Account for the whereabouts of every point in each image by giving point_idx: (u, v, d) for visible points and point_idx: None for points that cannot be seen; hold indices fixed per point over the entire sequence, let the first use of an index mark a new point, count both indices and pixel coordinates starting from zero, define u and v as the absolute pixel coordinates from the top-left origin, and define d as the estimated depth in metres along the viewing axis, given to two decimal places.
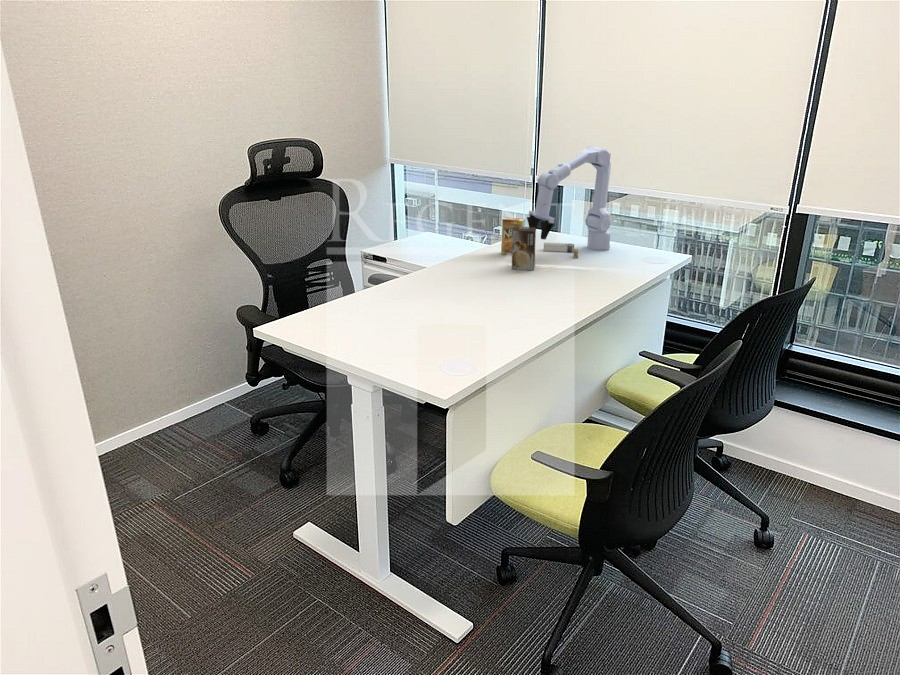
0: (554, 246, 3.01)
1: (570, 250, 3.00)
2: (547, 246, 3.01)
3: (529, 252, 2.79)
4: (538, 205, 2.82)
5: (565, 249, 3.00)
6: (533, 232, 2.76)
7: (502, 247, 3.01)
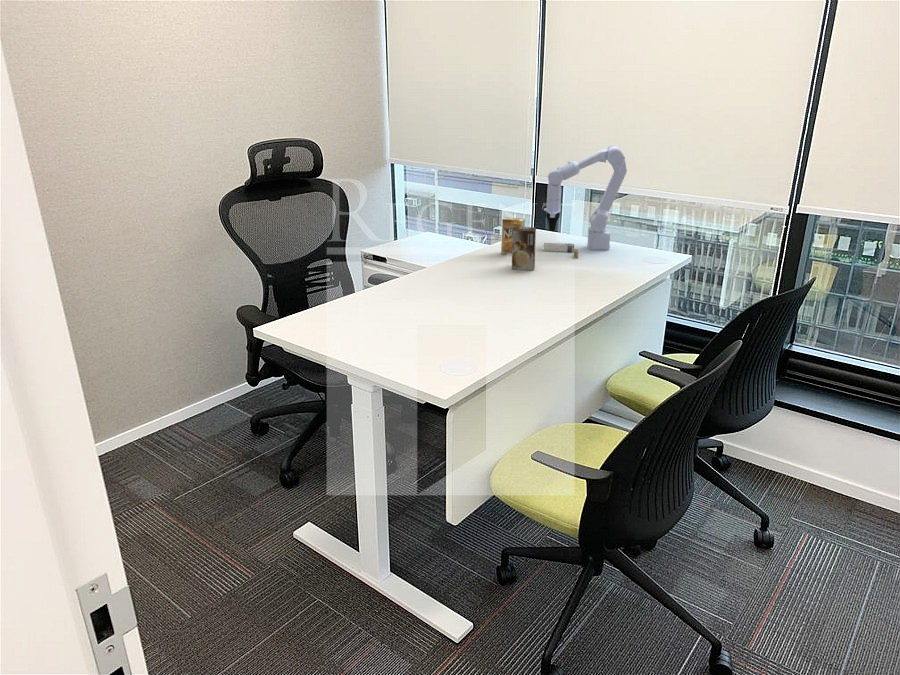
0: (554, 246, 3.01)
1: (570, 250, 3.00)
2: (547, 246, 3.01)
3: (529, 252, 2.79)
4: (547, 200, 3.01)
5: (565, 249, 3.00)
6: (533, 232, 2.76)
7: (502, 247, 3.01)
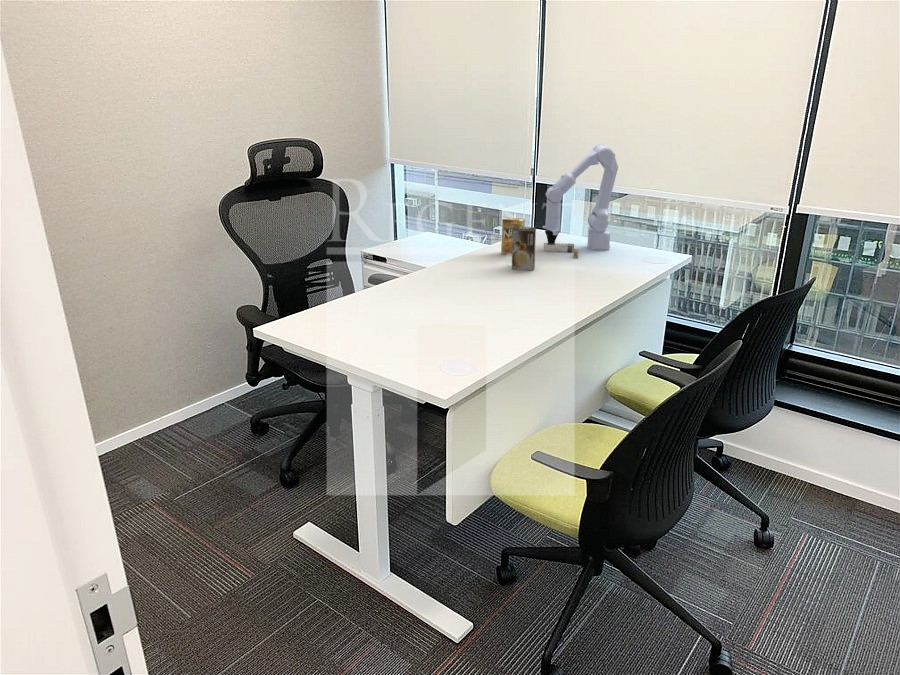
0: (554, 246, 3.01)
1: (570, 250, 3.00)
2: (547, 246, 3.01)
3: (529, 252, 2.79)
4: (546, 218, 2.99)
5: (565, 249, 3.00)
6: (533, 232, 2.76)
7: (502, 247, 3.01)
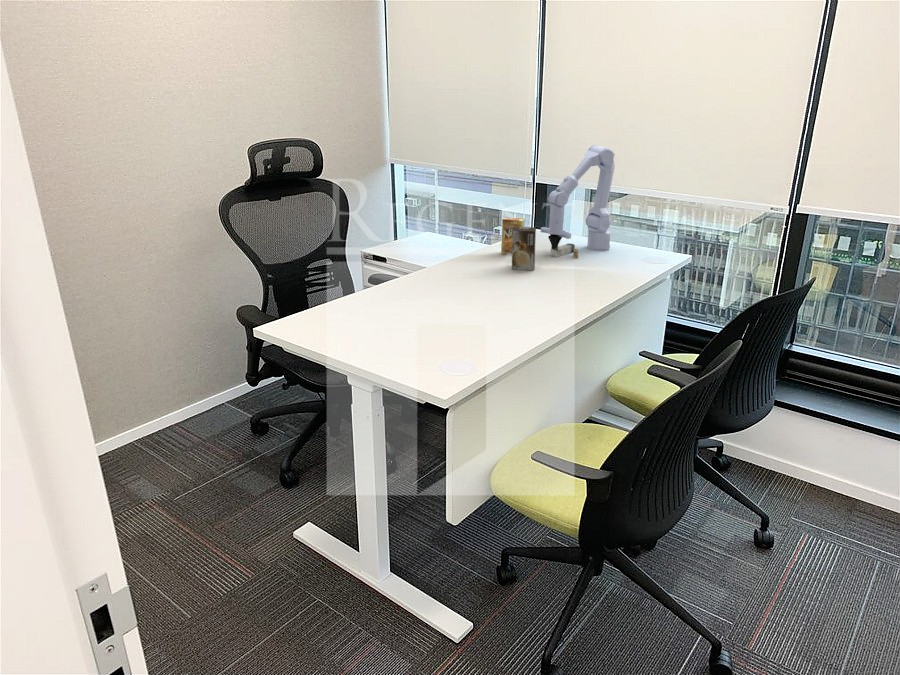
0: (563, 249, 2.96)
1: (573, 249, 3.01)
2: (558, 251, 2.94)
3: (529, 252, 2.79)
4: (552, 223, 2.91)
5: (570, 250, 2.99)
6: (533, 232, 2.76)
7: (502, 247, 3.01)
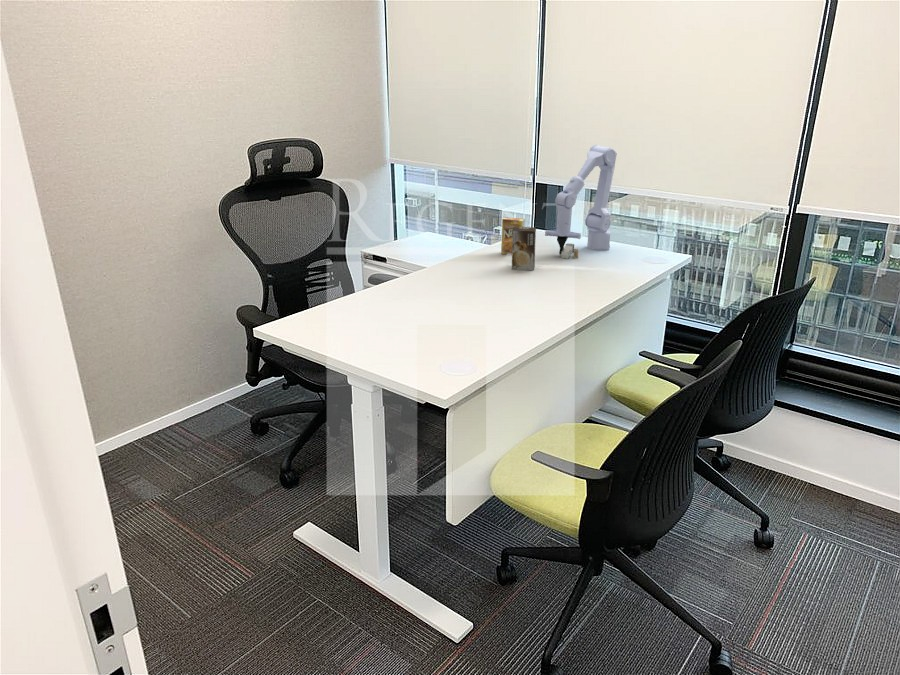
0: (570, 250, 2.95)
1: (573, 249, 3.01)
2: (569, 253, 2.93)
3: (529, 252, 2.79)
4: (563, 225, 2.88)
5: (572, 250, 3.00)
6: (533, 232, 2.76)
7: (502, 247, 3.01)
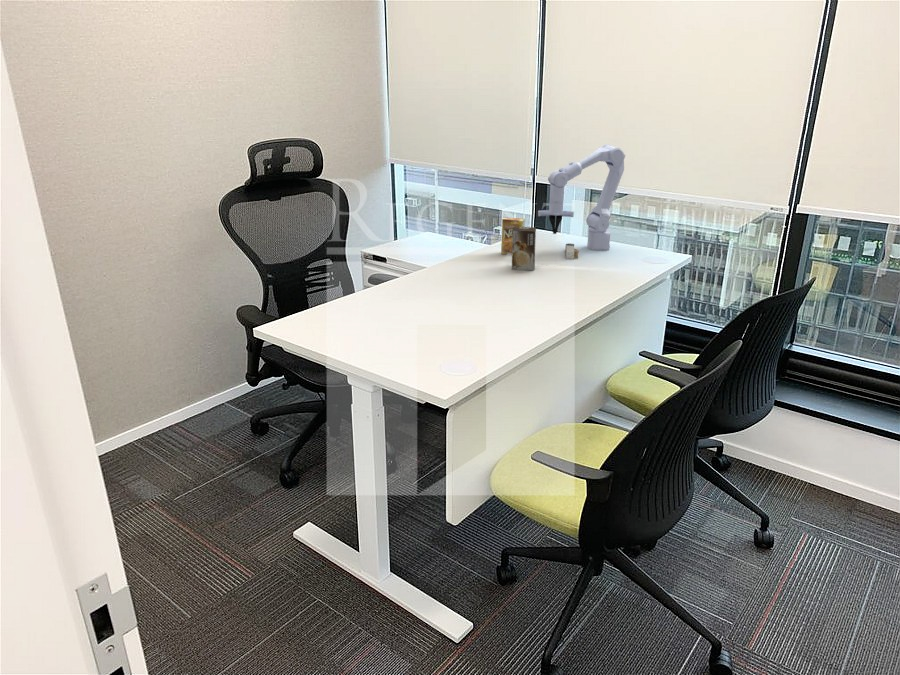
0: (573, 250, 2.95)
1: None
2: (573, 253, 2.92)
3: (529, 252, 2.79)
4: (557, 204, 2.90)
5: None
6: (533, 232, 2.76)
7: (502, 247, 3.01)
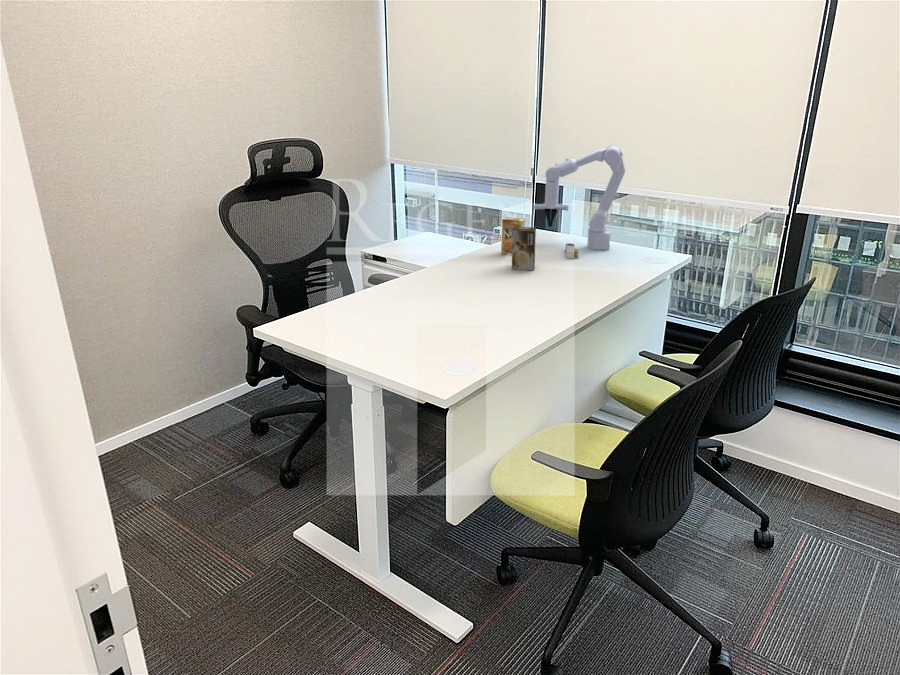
0: (573, 250, 2.95)
1: None
2: (573, 253, 2.92)
3: (529, 252, 2.79)
4: (552, 198, 3.01)
5: None
6: (533, 232, 2.76)
7: (502, 247, 3.01)
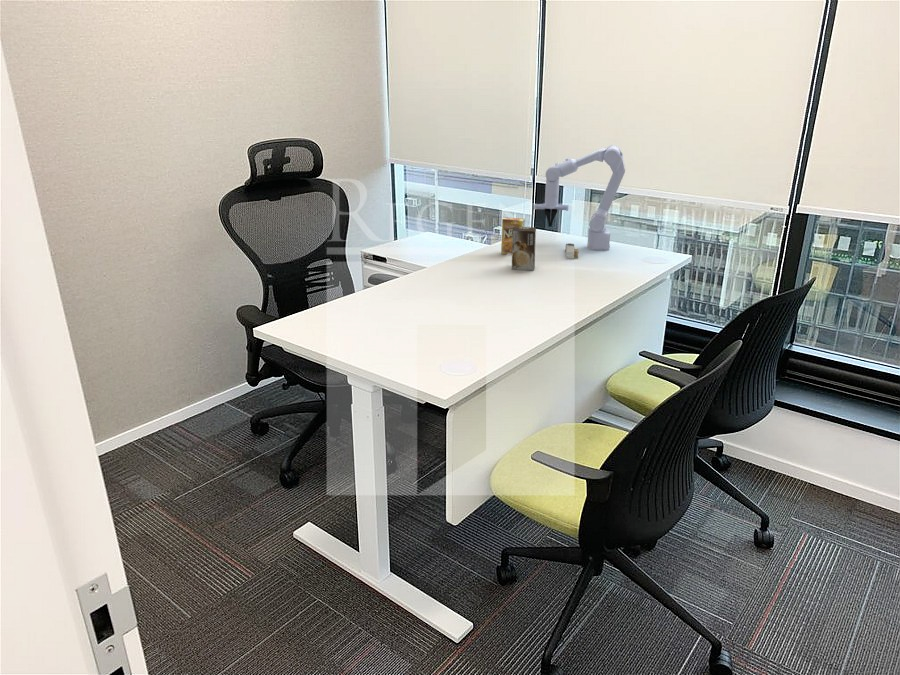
0: (573, 250, 2.95)
1: None
2: (573, 253, 2.92)
3: (529, 252, 2.79)
4: (552, 198, 3.01)
5: None
6: (533, 232, 2.76)
7: (502, 247, 3.01)
